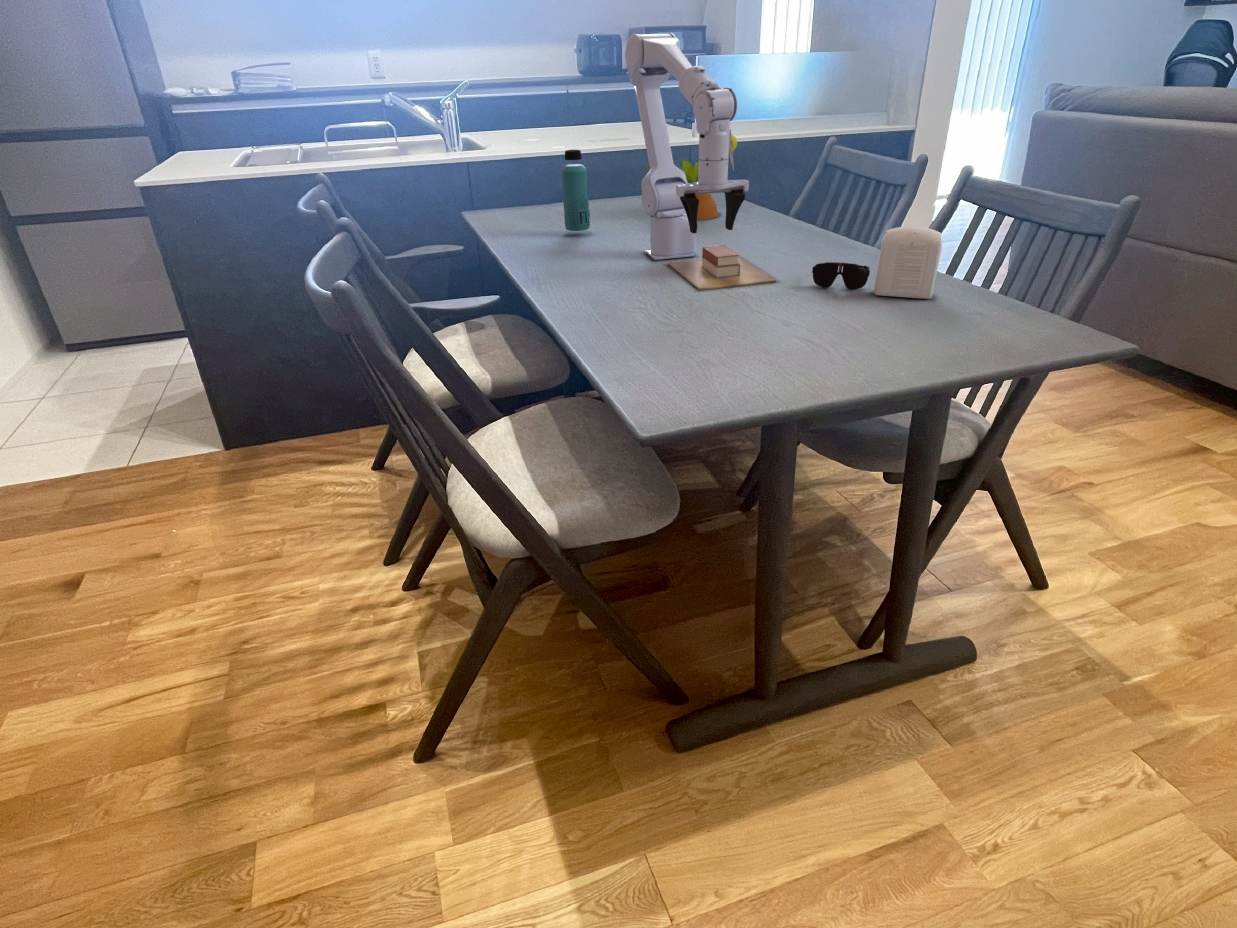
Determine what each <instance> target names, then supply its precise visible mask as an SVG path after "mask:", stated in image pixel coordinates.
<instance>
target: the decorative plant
mask: <svg viewBox="0 0 1237 928" xmlns="http://www.w3.org/2000/svg"><path fill="white" fill-rule="evenodd" d="M737 146H738V140H737V138H736V136H735V135H734V134H732V129H731V128H730V133H729V159H730V164H731V166H732V170H733V171H735V159H734V156H735V155H734V151H735V150H736V148H737ZM645 167H646V168H647V169H648V171H650V165H649V164H646V165H645ZM679 167H681V170H682V171H683V172H684V173H685V176H686V180H687V182H688V183H693V182H698V167H699V161H696V162H695V164H694V166H693V164H692V163H691V162H690V161H688V160H685V159H684V160H682V159H681V161H680V165H679ZM705 191H707V190H705ZM695 196H696V198H697V199H698V200H699V205H698V212H697V221H702V220H710V219H714V218H716V217H718V216H719V212H718V207H717V203H716V201H715V200H714V198H713V197H712V193H709V194H697V195H695Z"/></svg>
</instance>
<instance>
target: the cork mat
mask: <svg viewBox="0 0 1237 928" xmlns="http://www.w3.org/2000/svg"><path fill="white" fill-rule="evenodd" d="M738 264H740V276H731V277H722V278H716V277H714V276H713V275H712V274H710V273H709V272H708V271H706V270H705V269H704V268H702V259H696V260H695V259H694V260H693V259H692V260H685V261H684V260H683V261H674V262H668V265H669V267H671V268H672V269H673V270H674V271H675V272H677V273H678V274H679V275H680V276H682V277H683V278H684V279H685V280H687V281H688V282H689V283H690V284H691V285H692V286H693V287H695V288H696V289H697V290H698V291H706V290H713V289H714V290H715V289H724V288H733V287H734V288H735V287H742V286H751V285H760V284H762V285H763V284H770V283H776V282H777V280H776V279H775V278H773V277H771V276H770V275H769V274H767V273H766V272H764V271H762V270H760V269H759V268H757V267H756V266H754V265H753V264H751V263H749V262H748V261H747V260H745V259H743V258H742V257H740V256H739V258H738Z"/></svg>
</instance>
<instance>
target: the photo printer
mask: <svg viewBox="0 0 1237 928" xmlns="http://www.w3.org/2000/svg"><path fill="white" fill-rule="evenodd" d="M942 247H943V240H942V233H941V232H940V231H938V230H936V229H932V228H929V227H924V226H914V225H911V226H908V225H907V226H899V227H894V228H890V229H886V230H885V235H884V236H882V239H881V243H880V248H879V249H880V250H879V255H878V262H877V268H876V274H875V275H876V276H875V281H874V288H873V294H874V295H875V296H879V297H897V298H911V299H923V300H930V299H932V297H933V294H934V290H935V289H934V288H935V283H936V280H937V273H938V268H939V263H940V258H941V253H942Z"/></svg>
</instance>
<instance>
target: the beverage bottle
mask: <svg viewBox="0 0 1237 928" xmlns="http://www.w3.org/2000/svg"><path fill="white" fill-rule="evenodd" d="M582 158H583V156H582V150H580V149H567V150H565V151H564V160H565V161H580V160H582ZM587 172H588V170H587V168H586V167H585V166H584V165H583V164H582V163H569V164H565V165H564V166H563V167H562V168H561V171H560V173H561V183H562V196H563V204H562V205H563V214H564V216H563V218H564V227H565V230H566V231H569V232H582V231H583V232H584V231H587V230H589V229H590V226H591V224H590V223H591V220H590V218H591V214H590V213H591V212H590V202H589V184H588V176H587V175H588V173H587Z"/></svg>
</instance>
